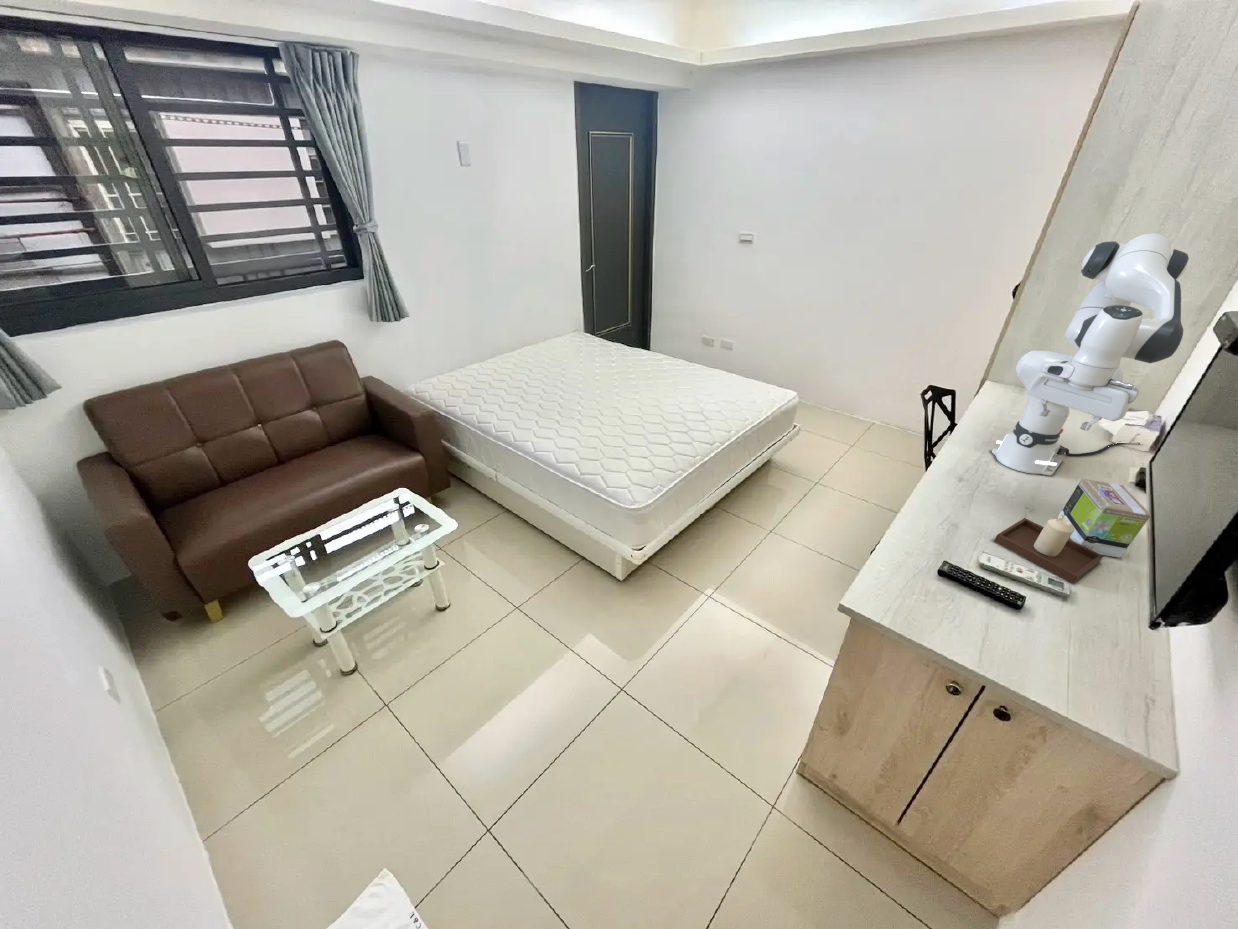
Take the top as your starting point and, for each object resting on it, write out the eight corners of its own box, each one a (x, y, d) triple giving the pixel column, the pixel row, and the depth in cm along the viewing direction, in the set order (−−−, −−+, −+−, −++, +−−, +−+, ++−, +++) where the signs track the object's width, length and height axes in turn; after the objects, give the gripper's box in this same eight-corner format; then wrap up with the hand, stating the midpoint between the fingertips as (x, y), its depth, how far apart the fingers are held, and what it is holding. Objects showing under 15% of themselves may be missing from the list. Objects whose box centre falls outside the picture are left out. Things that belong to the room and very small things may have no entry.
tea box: (1121, 559, 129) (1153, 515, 121) (1075, 550, 132) (1104, 507, 124) (1096, 525, 141) (1124, 483, 133) (1055, 518, 144) (1080, 477, 136)
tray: (1020, 524, 141) (1024, 517, 140) (1098, 563, 128) (1103, 556, 126) (993, 541, 135) (997, 534, 134) (1072, 583, 122) (1077, 576, 120)
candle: (1035, 540, 134) (1052, 511, 129) (1060, 549, 131) (1078, 521, 126) (1031, 549, 131) (1048, 520, 126) (1056, 559, 128) (1075, 530, 122)
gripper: (1148, 384, 115) (1116, 435, 123) (1049, 359, 131) (1027, 406, 138) (1137, 389, 113) (1105, 441, 120) (1037, 363, 128) (1015, 410, 135)
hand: (1062, 422), depth 129 cm, fingers open, 8 cm apart
